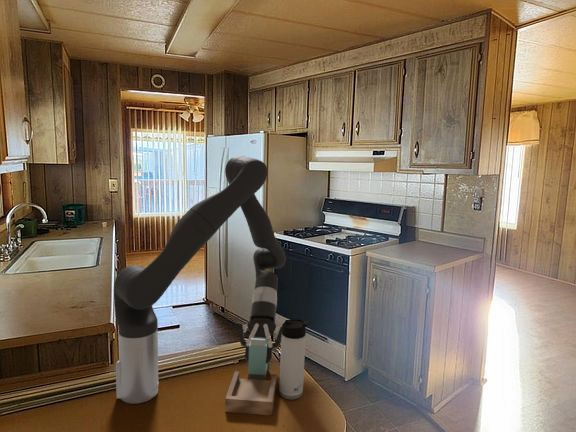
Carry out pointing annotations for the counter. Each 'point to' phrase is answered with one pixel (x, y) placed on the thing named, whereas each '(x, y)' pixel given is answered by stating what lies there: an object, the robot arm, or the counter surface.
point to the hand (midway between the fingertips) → (257, 361)
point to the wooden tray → (251, 395)
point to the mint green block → (257, 358)
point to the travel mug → (292, 358)
